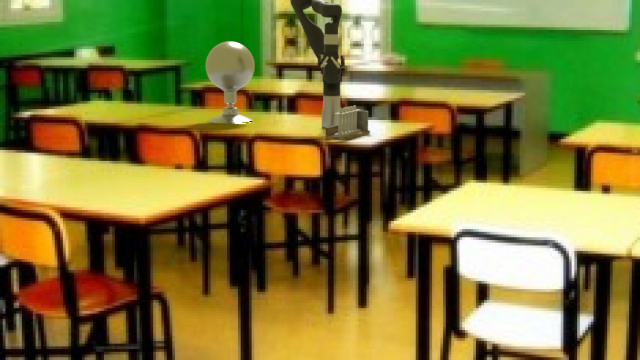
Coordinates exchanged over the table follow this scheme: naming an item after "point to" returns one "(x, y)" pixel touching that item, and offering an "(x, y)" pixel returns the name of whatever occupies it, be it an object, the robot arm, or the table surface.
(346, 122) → the long lego plate
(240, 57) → the desk lamp
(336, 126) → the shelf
